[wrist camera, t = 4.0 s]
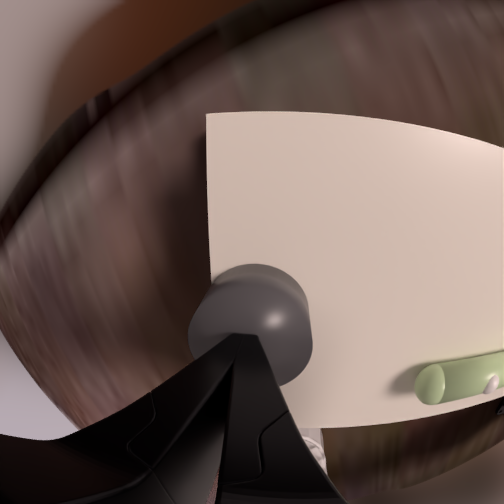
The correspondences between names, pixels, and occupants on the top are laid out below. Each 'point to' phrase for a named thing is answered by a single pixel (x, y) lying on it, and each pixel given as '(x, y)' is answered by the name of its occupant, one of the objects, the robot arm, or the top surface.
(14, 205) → the top surface
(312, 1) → the top surface
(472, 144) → the instrument plate
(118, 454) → the robot arm
